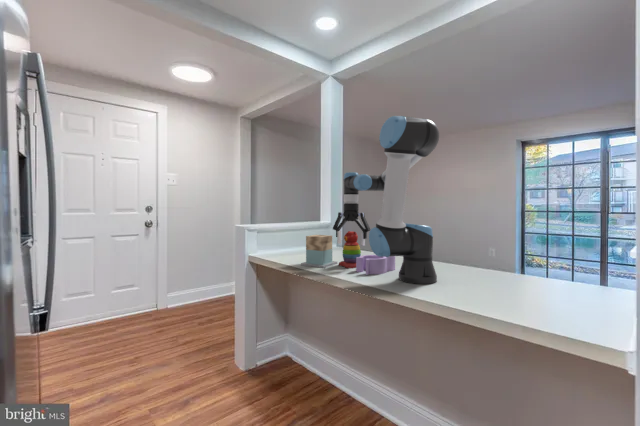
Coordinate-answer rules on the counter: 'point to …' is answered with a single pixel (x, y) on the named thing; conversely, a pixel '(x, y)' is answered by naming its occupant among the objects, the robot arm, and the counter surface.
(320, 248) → the oak brick
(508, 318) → the counter surface
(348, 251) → the stacking bear
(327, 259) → the tower base
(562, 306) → the counter surface
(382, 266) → the clip
